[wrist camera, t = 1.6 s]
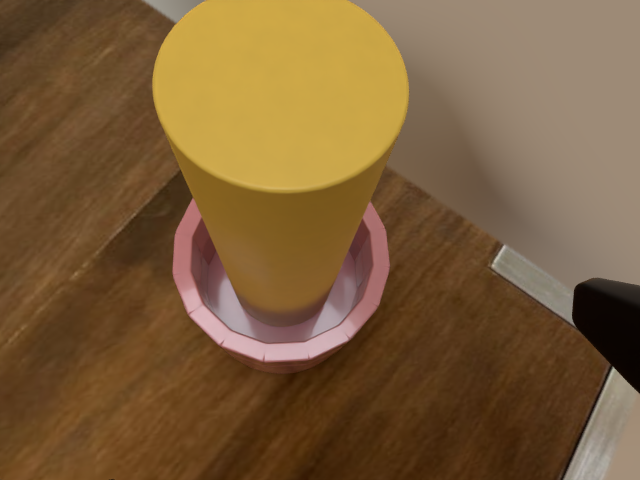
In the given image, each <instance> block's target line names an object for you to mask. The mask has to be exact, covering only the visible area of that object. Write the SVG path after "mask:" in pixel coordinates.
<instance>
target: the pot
mask: <svg viewBox="0 0 640 480" xmlns="http://www.w3.org/2000/svg"><path fill="white" fill-rule="evenodd" d="M389 268H390V261H389V253H388V244H387V235H386V230H385V227H384V225H383V223H382V221H381V220H380V218H379V216H378V214H377V212H376V211H375V209H374V207H373V205H372V203H371V202H369V204H368V207H367V209H366V211H365V213H364V216H363V218H362V220H361V223H360V225H359V227H358V229H357V232H356V234H355V236H354V239H353V241H352V243H351V246H350V248H349V250H348V252H347V255H346V257H345V259H344V262H343V264H342V266H341V268H340V271H339V273H338V275H337V278H336V280H335V282H334V285H333V287H332V289H331V291H330V294H329V296H328V298H327V300H326V302H325V304H324V305H323V307H322V308H321V309H320V310H319V311H318V312H317V313H316V314H315V315H314V316H313V317H311V318H310V319H308V320H307V321H305V322H303V323H300V324H297V325H293V326H287V327H277V326H271V325H268V324H264V323H262V322H260V321H258V320H256V319H255V318H253V317H252V316H251V315H249V314H248V313H247V312H246V311H245V309H244V308H243V307H242V305H241V304H240V302H239V300H238V298H237V296H236V294H235V292H234V289H233V287H232V285H231V283H230V280H229V278H228V276H227V273H226V271H225V269H224V267H223V264H222V262H221V260H220V258H219V255H218V253H217V251H216V248H215V246H214V244H213V242H212V239H211V237H210V235H209V232H208V230H207V228H206V226H205V223H204V221H203V219H202V216H201V214H200V212H199V210H198V207H197V205H196V203H195V200H194V198H193V199H192V201H191V203H190V205H189V207H188V209H187V211H186V213H185V215H184V217H183V218H182V220H181V222H180V224H179V226H178V228H177V230H176V232H175V238H174V255H173V272H172V274H173V278H174V281H175V284H176V286H177V289H178V291H179V294H180V297H181V299H182V302H183V304H184V307H185V309H186V312H187V314H188V315H189V317H190V318H191V319H192V320H193V321H194V322H195V323H196V324H197V325H198V326H199V327H200V328H201V329H202V330H203V331H204V332H205V333H206V334H207V335H208V336H209V337H210V338H211V339H212V340H213V341H214V342H216V343H217V344H218V345H219V346H220V347H221V348H222V349H223V350H224V351H225V352H227V353H228V354H229V355H230V356H232V357H233V358H235V359H236V360H238V361H239V362H241V363H243V364H244V365H246V366H249V367H251V368H253V369H256V370H259V371H263V372H268V373H274V374H287V373H295V372H299V371H303V370H307V369H309V368H311V367H314V366H316V365H318V364H320V363H321V362H323V361H325V360H326V359H327V358H329V357H330V356H331V355H333V354H334V353H336V352H337V351H338V350H340V349H341V348H342V347H343V346H344V345H345V344H346V343H348V342H349V341H350V340H351V339H352V338H353V337H354V336H355V334H356V333H357V332H358V331H359V330H360V328H361V327H362V326H363V325H364V324H365V323H366V321H367V320H368V319H369V318H370V317H371V316H372V314H373V313H374V312H375V311H376V310H377V307H378V306H379V304H380V300H381V297H382V294H383V291H384V287H385V284H386V281H387V277H388V274H389V271H390V269H389Z"/></svg>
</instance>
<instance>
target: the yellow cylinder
mask: <svg viewBox="0 0 640 480" xmlns="http://www.w3.org/2000/svg"><path fill="white" fill-rule="evenodd" d="M153 98H154V105H155V109H156V112H157V115H158V118H159V121H160V123H161V125H162V127H163V130H164V132H165V134H166V137H167V139H168V141H169V143H170V146H171V148H172V150H173V153H174V155H175V157H176V159H177V162H178V164H179V166H180V169H181V171H182V173H183V175H184V178H185V180H186V182H187V185H188V187H189V189H190V191H191V194H192V196H193V198H194V200H195V203H196V205H197V207H198V210H199V212H200V214H201V216H202V219H203V221H204V223H205V226H206V228H207V230H208V232H209V235H210V237H211V239H212V242H213V244H214V246H215V248H216V251H217V253H218V255H219V258H220V260H221V262H222V264H223V267H224V269H225V271H226V273H227V276H228V278H229V280H230V283H231V285H232V287H233V289H234V292H235V294H236V296H237V298H238V300H239V302H240V304H241V305H242V307H243V308H244V309H245V311H246V312H247V313H248V314H249V315H251V316H252V317H253V318H255V319H256V320H258V321H260V322H262V323H264V324H268V325H271V326H277V327H287V326H293V325H297V324H300V323H303V322H305V321H307V320H308V319H310V318H311V317H313V316H314V315H315V314H316V313H317V312H318V311H319V310H320V309H321V308H322V307H323V305H324V304H325V302H326V300H327V298H328V296H329V294H330V291H331V289H332V287H333V285H334V282H335V280H336V278H337V275H338V273H339V271H340V268H341V266H342V264H343V262H344V259H345V257H346V255H347V252H348V250H349V248H350V246H351V243H352V241H353V239H354V236H355V234H356V232H357V229H358V227H359V225H360V223H361V220H362V218H363V216H364V213H365V211H366V209H367V207H368V204H369V202H370V200H371V197H372V195H373V193H374V190H375V188H376V186H377V184H378V181H379V179H380V177H381V174H382V172H383V170H384V167H385V165H386V163H387V161H388V158H389V156H390V154H391V151H392V149H393V147H394V145H395V142H396V140H397V138H398V135H399V133H400V131H401V128H402V126H403V124H404V121H405V118H406V114H407V110H408V103H409V84H408V77H407V72H406V68H405V64H404V62H403V59H402V56H401V54H400V52H399V50H398V48H397V46H396V45H395V43H394V41H393V40H392V38H391V37H390V36H389V34H388V33H387V32H386V30H385V29H384V28H383V27H382V26H381V25H380V24H379V23H378V22H377V21H376V20H375V19H374V18H373V17H372V16H370V15H369V14H368V13H367V12H366V11H364V10H363V9H361V8H360V7H358V6H357V5H355V4H353V3H352V2H350V1H348V0H206V1H204V2H203V3H201V4H199V5H198V6H196V7H195V8H194V9H192V10H191V11H190V12H188V13H187V14H186V15H184V17H183V18H182V19H181V20H180V21H179V22H178V23H177V24H176V25H175V26H174V27H173V29H172V30H171V31H170V33H169V34H168V35H167V37H166V39H165V40H164V42H163V44H162V46H161V48H160V50H159V53H158V56H157V59H156V62H155V67H154V73H153Z"/></svg>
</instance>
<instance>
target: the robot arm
mask: <svg viewBox="0 0 640 480" xmlns="http://www.w3.org/2000/svg"><path fill="white" fill-rule="evenodd" d="M572 319H573V322H574V324H575V326H576V327H577V329H578V330H579V331H580V332H581V333H582V334H583V335H584V336H585V337H586V338H587V339H588V341H589V342H590V343H591V344H592V345H593V346H594V347H595V348H596V349H597V350H598V351H599V352H600V353H601V354H602V355H603V356H604V357H605V358H606V360H607V361H608V362H609V363H610V364H611V365H612V366H613V367H614V368H615V369H616V370H617V371H618V372H619V373H620V374H621V375H622V376H623V378H624V379H625V380H626V381H627V382H628V383H629V384H630V385H631V386H632V387H633V388H634V389H635V390H636V391H638V392H639V393H640V286H639V285H634V284H628V283H623V282H618V281H613V280H607V279H602V278H592V279H589V280H587V281H584V282H582V283H580V284H578V285H577V286H576V287H575V289H574V297H573V310H572ZM111 480H114V479H111Z"/></svg>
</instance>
